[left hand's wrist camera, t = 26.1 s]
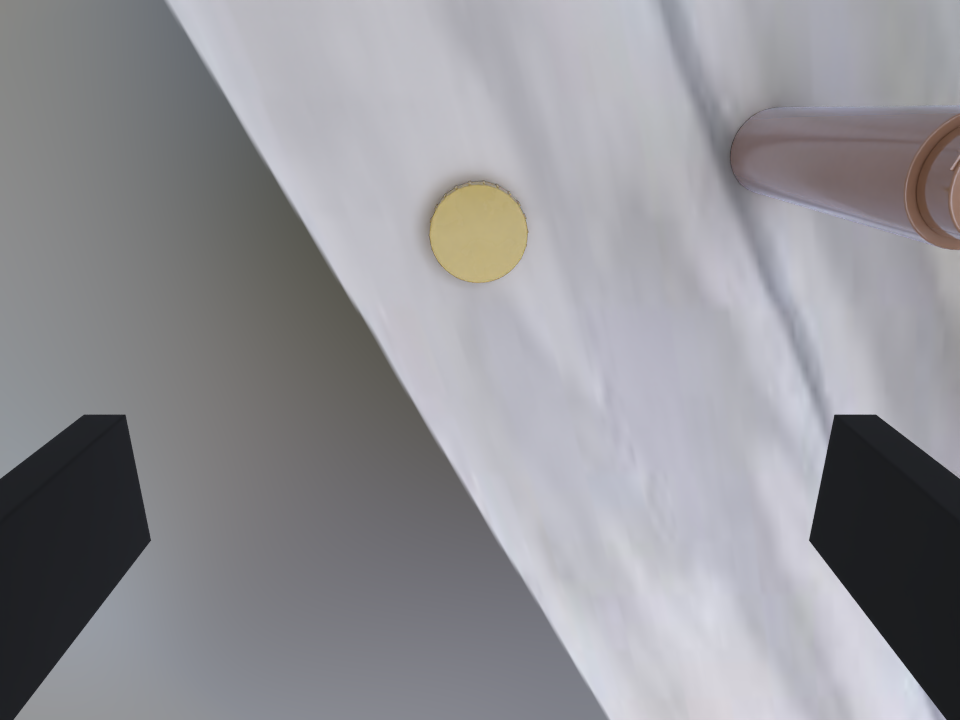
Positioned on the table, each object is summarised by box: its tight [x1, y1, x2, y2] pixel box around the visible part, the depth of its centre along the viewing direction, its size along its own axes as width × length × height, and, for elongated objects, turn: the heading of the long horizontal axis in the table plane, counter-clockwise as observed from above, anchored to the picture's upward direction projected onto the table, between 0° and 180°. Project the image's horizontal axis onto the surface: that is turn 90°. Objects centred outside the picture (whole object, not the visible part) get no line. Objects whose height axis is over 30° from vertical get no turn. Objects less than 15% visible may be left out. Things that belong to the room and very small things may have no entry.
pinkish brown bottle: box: [730, 105, 960, 250], centre depth 30 cm, size 5×5×19 cm
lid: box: [429, 180, 528, 283], centre depth 40 cm, size 6×6×2 cm
